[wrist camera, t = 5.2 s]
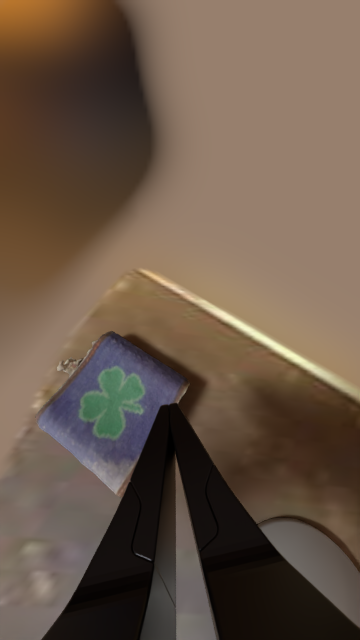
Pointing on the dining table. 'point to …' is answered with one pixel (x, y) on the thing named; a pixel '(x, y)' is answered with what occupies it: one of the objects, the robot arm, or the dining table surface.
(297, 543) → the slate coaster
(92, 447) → the flask
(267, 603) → the robot arm
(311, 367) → the dining table surface
